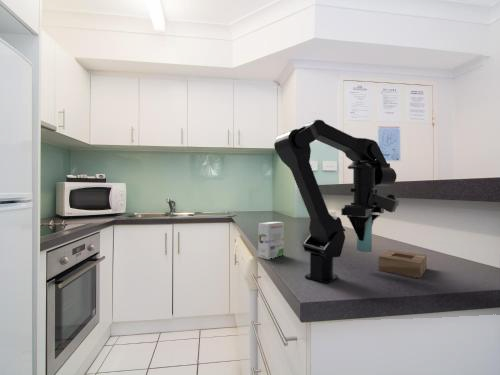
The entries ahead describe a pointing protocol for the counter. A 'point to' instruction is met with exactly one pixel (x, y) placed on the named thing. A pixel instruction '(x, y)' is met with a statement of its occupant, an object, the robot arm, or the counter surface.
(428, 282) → the counter surface
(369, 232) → the peg
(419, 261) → the socket block
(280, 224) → the ink box
